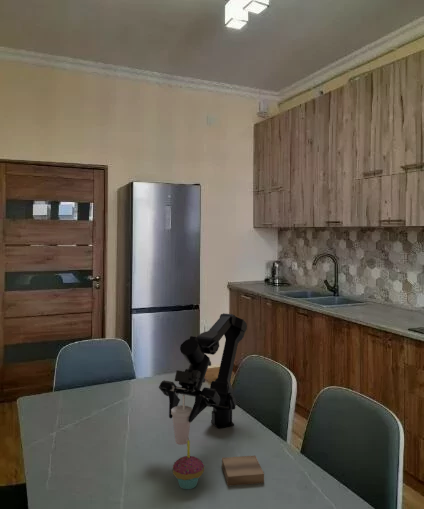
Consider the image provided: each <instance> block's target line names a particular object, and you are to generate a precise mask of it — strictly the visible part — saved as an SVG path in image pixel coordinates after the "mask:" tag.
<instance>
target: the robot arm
mask: <svg viewBox="0 0 424 509" xmlns="http://www.w3.org/2000/svg"><path fill="white" fill-rule="evenodd" d="M247 330H248V324H247V322H246V321H245V320H244V318H243V319H242V318H240V317H238V316H236V315H234V314H233V313H224V312H223V313H221V314H220V315H219V318H218V319H217V320H216V321H215V323H214V324H213V325H212V326H211V327H210V328H209V329H208V330H207V331H203V332H201V333H200V334H198V335H196V336H193V335H190V336H189V338H188V339H186V340H184V341H183V342H182V343H181V344H180V346H179V347H180V348H179V350H180V352H181V355H182V356H183V357H184V358H185V360H186V361H187V363H188V364H189V366H188V368H185V369H184V370H176V371H175V377H174V381H169V380H162V381H161V382H160V383H159V386H158V389H159V390H160V391H161V392H162V394H163V395H164V396H166V397H168V400H169V401H168V402H169V404H168V405H169V406H168V407H169V408H168V417H169V419H173V417H172V415H171V409H172V408H173V407H176V406H179V404H180V401H181V399H180V398H179V397H178V396H179V395H182V396H183V395H185V396H190V397H194V404H193V406H192V411H191V414H190V417H189V422H190V424H191V423H192V422H193V421H194V420H195V419H196V418H197V416H198V415H199V414H200V413H202V412H203V411H204V410H205V409H206V408H208V407H209V408H212V411H211V420H210V422H211V423H212V424H213V425H214V426H215V427H216V428H217V429H222V428H227V427H232V426H235V423H234V422H233V410H235V409H236V407H237V399H236V397H235V396H234V389H233V385H232V383H231V381H232V375H233V374H232V373H233V370H234V365H235V359H236V354H237V350H238V345H239V343H240V342H241V341H242V340H243V339H244V337H245V333H246V332H247ZM223 337H224V338H225V341H224V346H223V352H222V356H221V361H220V365H219V370H218V373H217V377H216V379H215V380H212V381H211V382H210V387H203V388H202V386H203V384H204V383H206V378H205V377H206V375H207V371H208V368H209V367H211V366H212V361H211V359H210V357H209V356H208V355H212V356H214V355H216V353H217V352H218V351H219V348H220V341H221V339H222V338H223ZM175 382H178V385H179V386H177V385H176V384H175ZM180 386H181V387H180ZM201 389H202V390H201Z"/></svg>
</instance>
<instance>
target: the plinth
mask: <svg viewBox="0 0 424 509" xmlns="http://www.w3.org/2000/svg"><path fill="white" fill-rule="evenodd" d="M221 469H222V472H223V474H224V477H225V481H226V484H227V486H229V487H232V486H245V485H256V484H264V483H265V473H264V471H263V469H262V467H261V465H260V463H259V460H258V459H257V456H256V455H244V456H228V457H226V456H225V457H221Z"/></svg>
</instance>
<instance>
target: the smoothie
mask: <svg viewBox="0 0 424 509" xmlns="http://www.w3.org/2000/svg"><path fill="white" fill-rule="evenodd" d="M185 396H186V395H183V394H182V405H178V406H176V407H173V408H172V409H171V415H172V423H173V431H174V432H173V433H174V439H175V440H174V441H175V443H176V444H177V445H180V446H181V445H182V446H183V445H187V441H188V437H189V436H190V430H191V429H190V428H191V423H190V422H189V417H190V414H191V411H192V409H193V407H191V406H189V405H185V398H186V397H185Z"/></svg>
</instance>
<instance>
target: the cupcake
mask: <svg viewBox="0 0 424 509" xmlns="http://www.w3.org/2000/svg"><path fill="white" fill-rule="evenodd" d="M190 444H191V441H190V438H189V437H188V441H187V443H186V446H187V448H186V452H187V455H185V456H182V457H180V458H178V459H176V460H175V461H174V462H173V465H172V474H173V475H174V477H175V478H176V480H177V482H178V486H179V487H180V488H182V489H184V490H191V489H195V488H196V487H197V485H198V481H199V478H200V477H201V476H202V475H203V473H204V471H205V465H204V463H203V461H202V460H201V459H200V458H199V457H196V456H193V455H191V450H190V449H191V445H190Z"/></svg>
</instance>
